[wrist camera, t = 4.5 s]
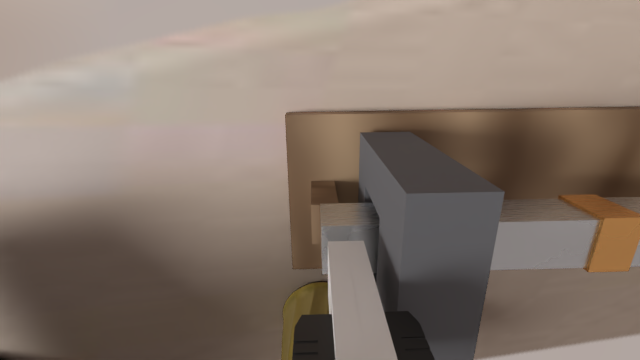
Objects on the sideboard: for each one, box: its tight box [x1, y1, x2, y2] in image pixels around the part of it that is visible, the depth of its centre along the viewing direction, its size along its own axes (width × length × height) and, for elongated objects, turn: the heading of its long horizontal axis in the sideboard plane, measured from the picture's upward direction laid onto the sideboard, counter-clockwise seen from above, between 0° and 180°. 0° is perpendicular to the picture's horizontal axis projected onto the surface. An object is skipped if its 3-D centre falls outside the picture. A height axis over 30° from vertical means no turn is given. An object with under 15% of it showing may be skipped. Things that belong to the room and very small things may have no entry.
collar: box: [358, 132, 505, 360], centre depth 16 cm, size 3×9×10 cm, turn 1°
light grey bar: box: [320, 194, 640, 274], centre depth 16 cm, size 22×3×3 cm, turn 91°
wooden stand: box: [285, 107, 640, 269], centre depth 18 cm, size 27×11×9 cm, turn 91°
